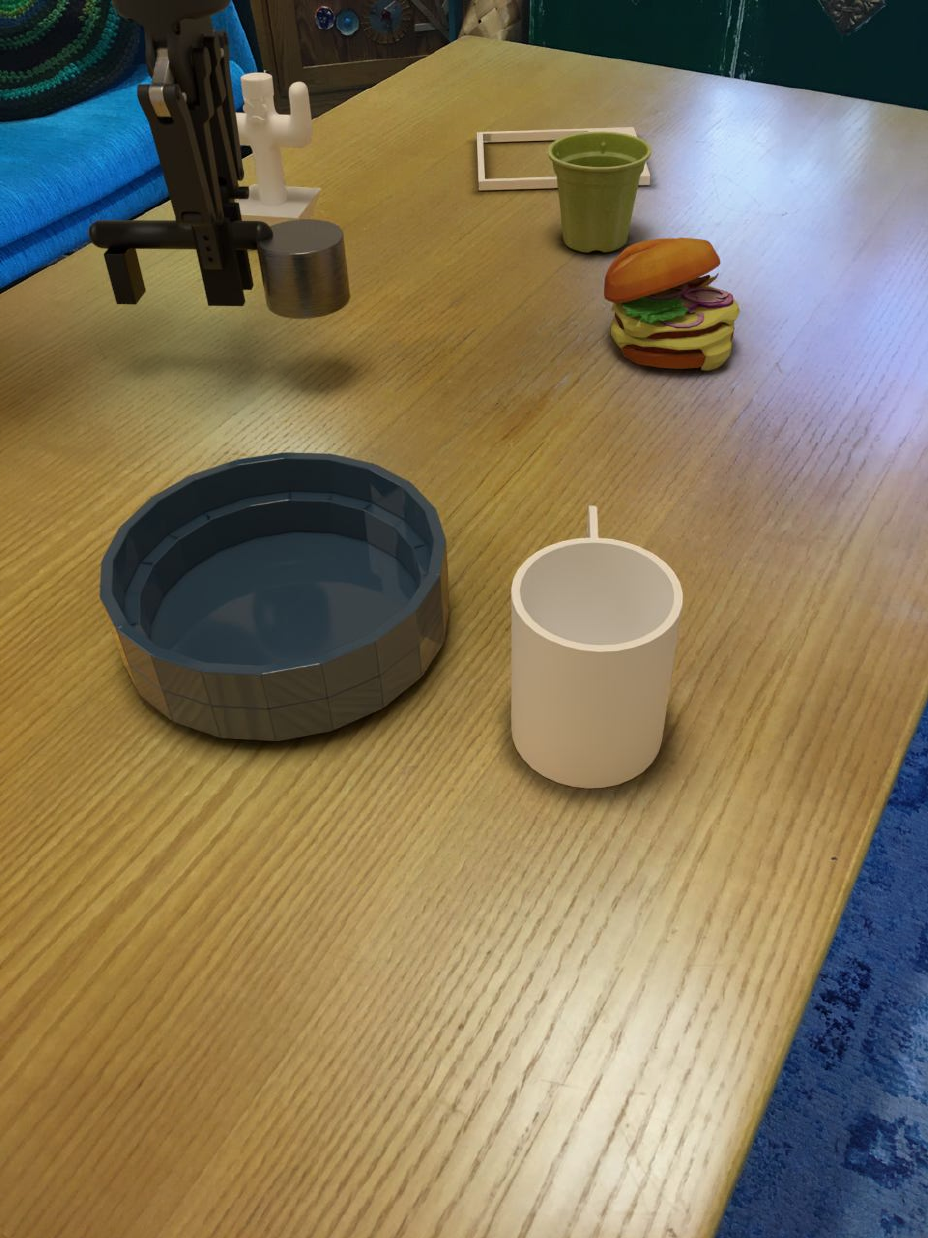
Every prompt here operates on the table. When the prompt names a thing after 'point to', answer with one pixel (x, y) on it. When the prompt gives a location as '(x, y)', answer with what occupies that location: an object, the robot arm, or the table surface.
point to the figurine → (274, 150)
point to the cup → (592, 658)
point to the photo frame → (535, 136)
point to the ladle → (288, 252)
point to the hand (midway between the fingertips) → (231, 294)
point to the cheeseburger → (670, 305)
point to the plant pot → (597, 187)
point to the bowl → (278, 594)
